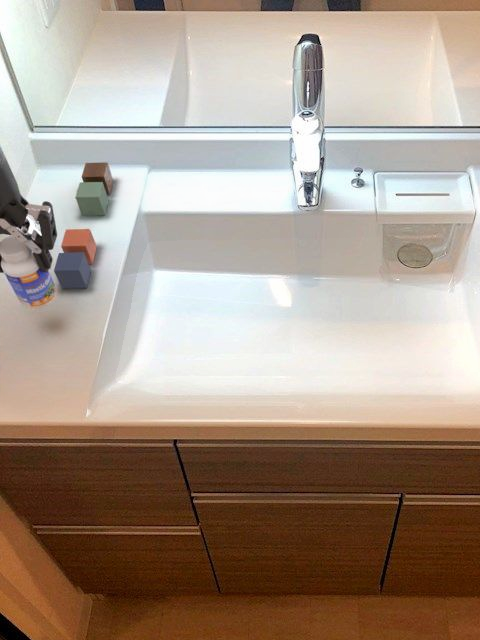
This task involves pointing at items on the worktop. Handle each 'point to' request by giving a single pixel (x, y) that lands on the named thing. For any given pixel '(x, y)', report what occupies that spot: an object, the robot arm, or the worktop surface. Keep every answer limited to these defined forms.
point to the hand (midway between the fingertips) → (24, 268)
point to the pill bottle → (26, 274)
